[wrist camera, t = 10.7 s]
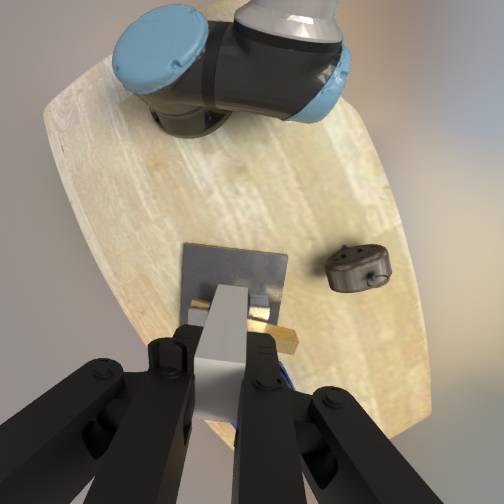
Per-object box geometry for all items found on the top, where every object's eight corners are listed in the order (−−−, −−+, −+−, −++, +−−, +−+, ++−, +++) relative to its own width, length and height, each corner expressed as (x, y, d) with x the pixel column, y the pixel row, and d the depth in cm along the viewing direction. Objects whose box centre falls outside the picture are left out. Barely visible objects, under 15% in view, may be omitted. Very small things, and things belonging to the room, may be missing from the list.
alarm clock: (321, 278, 50) (350, 316, 34) (314, 251, 49) (342, 279, 33) (373, 260, 49) (418, 288, 33) (368, 233, 48) (414, 252, 32)
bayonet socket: (186, 242, 48) (175, 251, 41) (287, 254, 49) (293, 265, 42) (182, 339, 52) (173, 359, 45) (270, 350, 53) (273, 371, 46)
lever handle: (188, 315, 45) (179, 334, 39) (195, 288, 44) (186, 304, 38) (285, 340, 47) (290, 362, 40) (295, 315, 46) (302, 334, 39)
